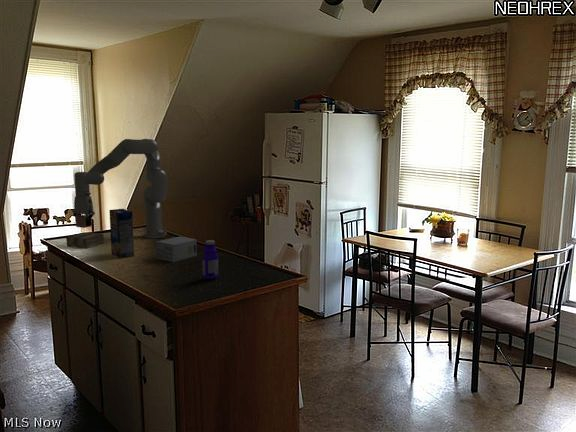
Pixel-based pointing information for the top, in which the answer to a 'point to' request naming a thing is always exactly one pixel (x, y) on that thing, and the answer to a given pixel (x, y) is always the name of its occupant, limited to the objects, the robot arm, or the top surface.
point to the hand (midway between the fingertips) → (84, 225)
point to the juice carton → (121, 233)
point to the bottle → (210, 261)
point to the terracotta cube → (82, 221)
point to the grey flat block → (85, 240)
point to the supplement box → (176, 249)
